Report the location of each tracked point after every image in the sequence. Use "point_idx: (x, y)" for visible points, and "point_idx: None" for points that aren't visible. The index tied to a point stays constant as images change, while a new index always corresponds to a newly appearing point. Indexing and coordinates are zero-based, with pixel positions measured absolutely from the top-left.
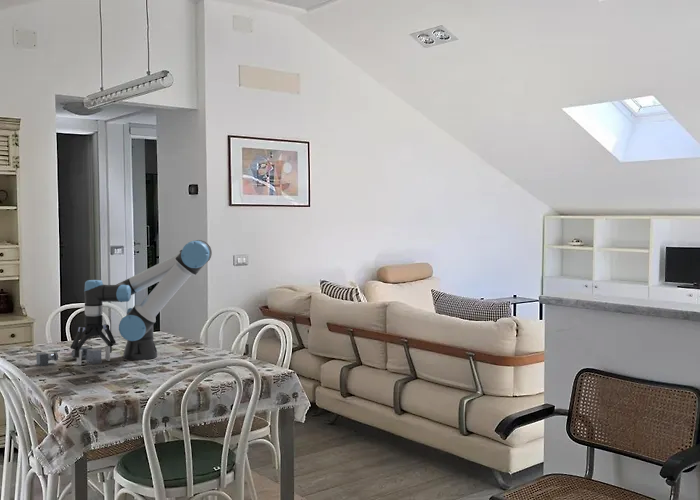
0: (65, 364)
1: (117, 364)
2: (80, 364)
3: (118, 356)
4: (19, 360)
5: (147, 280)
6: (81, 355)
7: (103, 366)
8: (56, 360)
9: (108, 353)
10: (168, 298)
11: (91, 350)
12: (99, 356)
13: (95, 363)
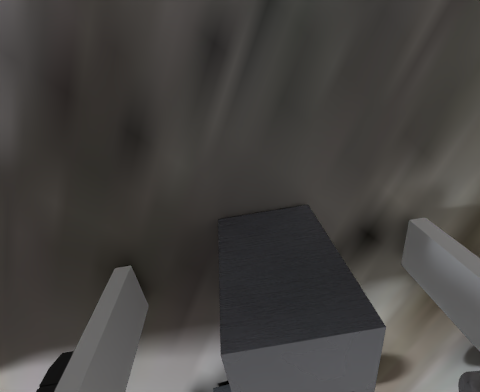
0: (434, 315)
1: (60, 72)
2: (422, 220)
3: (22, 384)
4: None
5: None
6: None
7: (254, 57)
8: (472, 371)
9: (104, 333)
10: None
11: (371, 367)
12: (245, 266)
13: (282, 212)
